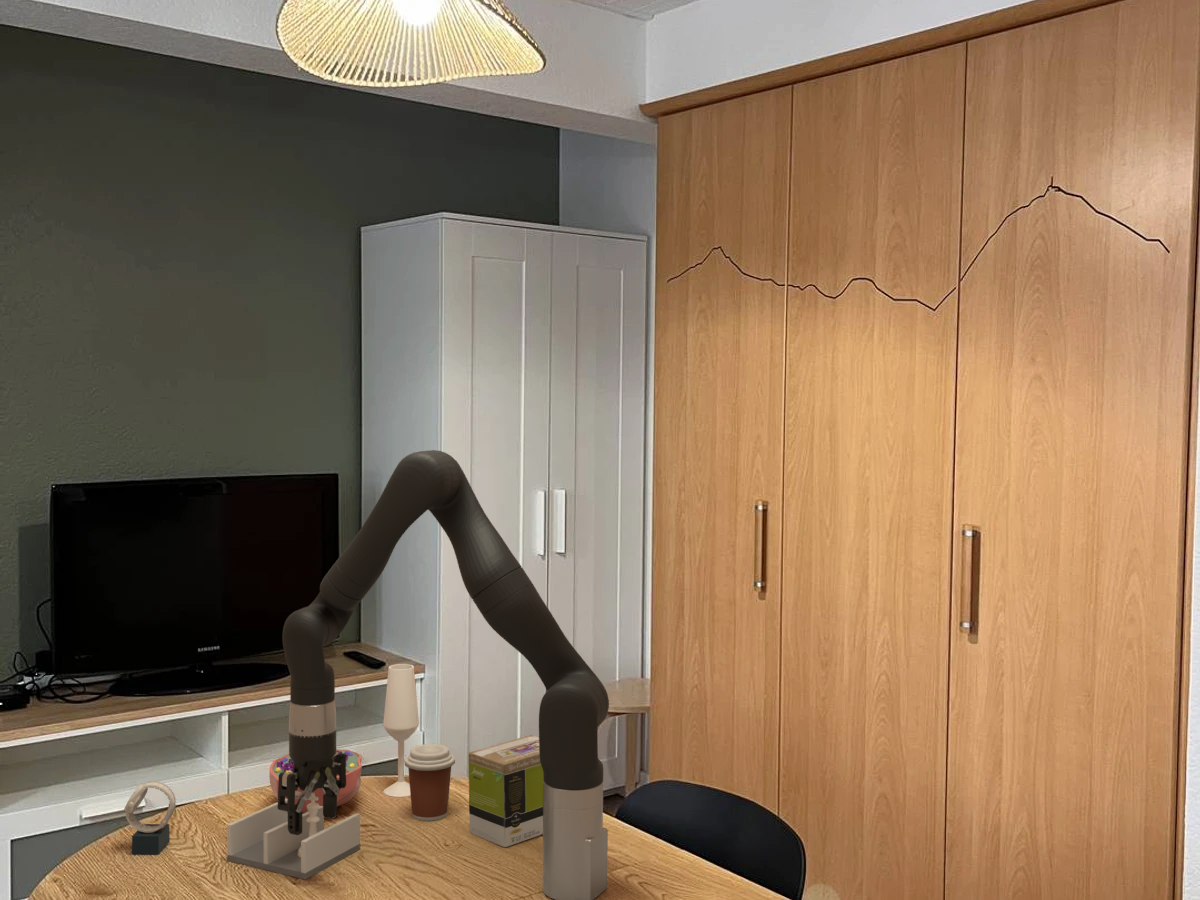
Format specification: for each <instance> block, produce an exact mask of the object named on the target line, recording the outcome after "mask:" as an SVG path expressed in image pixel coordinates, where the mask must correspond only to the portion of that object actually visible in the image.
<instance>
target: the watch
mask: <svg viewBox="0 0 1200 900" xmlns="http://www.w3.org/2000/svg"><path fill="white" fill-rule="evenodd" d="M148 789H156V790H159V791H160V792H162V793H163V794H164V795H165V796H166V797H167V799H168V802H169V803H168V807H167V810H166V812H165V815H164V817H163V819H162V820H161V821H160V823H142V822H141V821H139V820H138V819H137V817H136V816H135V811H136V810H137V809H138V807H140V804H141V803H142V802H143V800H144V798H145V797H146V794H147V793H148ZM176 808H177V804H176V795H175V793H174V791H173V789H171V788H170V787H169V786H168V785H167V784H165V783H164V782H160V781H148V782H146V783H144V784H143V783H141V784H139V785H138V786H137V788H135V790H134V792H133V793H132V794H131V796H130V797H129V799H128V800H127V802H126V804H125V806H124V809H123V810H124V811H125V818H126V820H127V822H128V824H129V825H130V826H131V827H132V828H133V829H135V830H136V832H134V834H132V836H131V851H132V852H131V854H132V856H134V855H135V856H140V855H141V856H143V855H144V856H145V855H146V856H152V855H153V856H159V855H160V854H161V853H162V852H163V851H164V849H165V848H166V847H167V846H168V845H169V844H170V842H171V841H170V836H171V835H170V824H169V823H168V822H169V821H170V819H171V818H172V817H173V814H174V812H175V810H176Z"/></svg>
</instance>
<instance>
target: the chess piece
mask: <svg viewBox="0 0 1200 900" xmlns="http://www.w3.org/2000/svg"><path fill="white" fill-rule="evenodd" d="M308 800H311V803H309V804H308V805H307V809H308V812H309V815H310V817H308V818H307V820H306V821H307V822H309V823H310V829H309V837H310V836H312V835H314V834H316V833H317V828H316V822H318V821H319V820H320V819H319V817H317V816H316V815H317V811H318V809H319V804H318V803H315V800H318V797H315V793H311V796H310V797H309V799H308ZM298 856H299V857H301V847H300V848H299V849H298Z"/></svg>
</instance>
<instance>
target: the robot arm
mask: <svg viewBox="0 0 1200 900" xmlns="http://www.w3.org/2000/svg"><path fill="white" fill-rule="evenodd" d="M427 511H429V512H430V513H431V514H432V516H433V517H434V518H435V520H436V521H437V523H438V524H439V526H440V527H441V528H442V530H443V531H444V533H445V534H446V535H447V538H448V539H449V541H450V543H451V546H452V549H453V551H454V555H455V558H456V561H457V565H458V566H457V567H458V569H459V573H460V576H461V579H462V582H463V585H464V587H465V589H466V591H467V593H468V595H469V597H470V598H471V600H472V601H473V603H474V604H475V606H476V608H477V609H478V612H480V614H481V615H482V618H484V620H485V622H486V623H487V624H488V625H489V627H490V628H492V630H493V631H494V632H496V634H497V635H499V636H500V637H501V638H502V639H503V640H505V642H507V643H508V644H509V645H510V646H511V647H513V648H514V649H515V650H516V651H517V652H518V653H520V654H521V655H522V656H523V657H524V658H525V659H526V660H527V661H528V663H529V664H530V665H531V667H532V668H533V670H534V671H535V672H536V674H537V676H539V679H540V681H541V682H542V683H543V686H544V688H545V690H546V691H545V692H544V694H543V696H542V698H541V701H540V704H539V711H538V738H539V753H540V763H541V766H542V769H543V773H544V781H543V834H542V877H541V879H542V892H543V894H544V895H546V896H547V897H548V898H551V899H553V900H595V899H596V898H597V897H598V896H600V895H601V894H602V893H603V892H605V890H607V889H608V849H609V847H608V845H609V844H608V843H609V839H608V838H609V836H608V835H609V829H608V828H606V827H603V826H604V825H603V823H604V821H603V820H604V819H603V818H604V809H603V808H604V765H603V762H602V761H601V760H600V758H599V754H598V753H599V751H598V750H599V749H598V748H599V747H598V743H599V741H598V739H599V738H598V737H599V734H598V728H599V726H601V724H603V722H604V720H606V718H607V715H608V713H609V710H610V700H609V694H608V692H607V689H606V688H605V686H604V684H603V682H602V681H601V680H600V678H599V676H597V675H596V673H595V672H594V671H593V670H592V668H591V667H590V666H589V665H588V663H586V661H585V660H584V658H583V657H582V655H580V654H579V652H578V651H577V649H575V648H574V646H573V645H572V644H571V642H570V641H569V639H568V638H567V636H566V635H565V633H564V632H563V630H562V629H561V627H560V625H559V624H558V622H557V621H556V619H555V617H554V616H553V614H552V612H551V611H550V608H548V606H547V605H546V603H545V602H544V600H543V599H542V597H541V595H540V593H539V592H538V590H537V589H536V586H535V584H533V582H532V580H531V578H530V577H529V576H528V574H527V572H526V571H525V570H524V568H523V567H522V565H521V563H520V562H519V560H517V558H516V557H515V555H514V554H513V553H512V551H511V550H510V548H509V546H508V545H507V543H506V542H505V540H504V538H502V536H501V534H500V533H499V532H498V530H497V529H496V527H495V525H494V524H493V523H492V522H491V520H490V519H489V517H488V515H487V513H485V511H484V509H483V507H482V506H481V503H480V502H479V500H478V498H477V496H476V494H475V492H474V489H473V488H472V486H471V484H470V482H469V480H468V478H467V476H466V474H465V473H464V470H463V469H462V467H461V466H460V463H459V462H458V461H457V460H456V459H455V458H454V457H453V456H452V455H450V454H449V453H447V452H446V451H445V452H444V451H442V450H436V449H435V450H434V449H432V450H421V451H415V452H412V453H410V454H407V455H406V456H405V457H403V458H402V459H401V460H400V461H399V462H398V463H397V465H396V467H395V469H394V470H393V472H392V474H391V476H390V477H389V480H388V481H387V483H386V486H385V487H384V489H383V491H382V493H381V494H380V497H379V498H378V500H377V501H376V503H375V506H373V509H372V510H371V512H370V513H369V516H368V517H367V518H366V519H365V521H364V523H363V525H362V527H361V528H360V529H359V531H358V532H357V534H356V535H355V537H354V538H353V539H352V541H351V542H350V543H349V544H348V546H346V549H345V550H344V551H343V552H342V553H341V554H340V556H339V557H338V559H337V560H336V561H335V563H333V565H332V566H331V568H329V570H328V572H327V573H326V574H324V575H325V576H324V577H323V578H322V581H321V582H320V585H319V593H318V595H317V596H316V597H315V599H314V600H313V601H312V602H311V603H310V604H309V605H308V606H305V607H302V608H299V609H298V610H294V611H293V612H292V613H290V614H289V615H288V616H287V618H286V620H285V621H284V624H283V628H282V646H283V651H284V656H285V661H286V665H287V668H288V672H289V674H290V686H289V688H290V691H289V692H290V695H289V696H290V702H289V703H290V706H289V710H288V711H289V712H288V754H289V756H290V758H291V759H292V760H293V762H294V766H293V770H292V772H290V773H283V772H281V773H280V774H279V782H278V799H277V802H278V810H282V811H287V813H288V831H289V833H290V834H294V835H299V834H301V833H302V812H301V810H302V808H303V805H304V803H305V801H306V800H308V799H309V797H310V795H311V792H314V791H315V790H316V789H318V788H322V790H323V791H324V793H326V794H324V795H323V816H324V818H327V819H332V820H333V819H334V818H336V817H337V812H338V811H337V810H338V807H337V795H338V794H339V791H340V789H341V788H345V786H346V765H345V754H343V753H339V752H336V749H337V710H336V709H337V708H336V702H335V701H336V699H335V698H336V697H335V696H336V695H335V694H336V693H335V692H336V691H335V690H336V688H335V685H336V684H335V683H336V680H335V679H336V677H335V671H334V667H333V666H331V664H329V663H327V662H326V661H325V656H324V655H325V654H324V653H325V652H324V647H325V646H327V645H330V644H331V643H332V642H334V641H335V640H336V639H337V638H338V637H339V635H340V634H341V633H343V631H344V629H345V628H346V626H347V624H348V623H349V621H350V618H351V617H352V615H353V613H354V612H355V609H356V608H357V606H358V605H359V603H361V601H362V600H363V599H364V597H365V596H366V595H367V594H368V593H369V592H370V590H371V588H372V587H373V586H374V585H375V584H376V582H377V581H378V580H379V578H380V576H381V575H382V573H383V572H384V571H385V568H386V567H387V564H388V562H389V561H390V557H392V553H393V551H394V549H395V548H396V546H397V544H398V542H399V541H400V539H401V538H402V536H403V535H405V533H406V532H407V530H409V528H410V527H411V525H413V524H414V523H415V522H416V521H417V520H418V519H419V518H420V517H421V516H422V515H424V514H425V513H426V512H427ZM337 774H338V775H339V780H337ZM298 787H299V788H300V789H301V790H302V791H303V792H299V791H297V789H298ZM285 797H287V798H288V801H287V803H285ZM296 798H299V799H298V802H297V804H295V800H296Z"/></svg>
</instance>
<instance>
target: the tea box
mask: <svg viewBox="0 0 1200 900" xmlns="http://www.w3.org/2000/svg"><path fill="white" fill-rule="evenodd" d="M543 781H544V773H543V769H542V766H541V763H540V753H539V736H535V735H532V734H530V735H525V736H523V737H519V738H515V739H512V740H508V741H504V742H501V743H497V744H494V745H490V746H488V747H487V746H486V747H484V748H480V749H477V750H473V751H469V752H468V815H469V817H468V821H469V833H470V834H471V835H474V836H475V837H478V838H481V839H484V840H486V841H488V842H490V843H492V844H494V845H497V846H500V847H503V848H508V847H511V846H513V845H516V844H519V843H522V842H524V841H527V840H530V839H533V838H536V837H538V836H539V837H540V836H541V835H543Z"/></svg>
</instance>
